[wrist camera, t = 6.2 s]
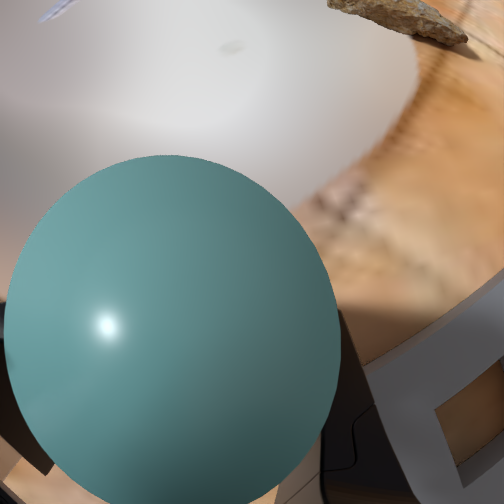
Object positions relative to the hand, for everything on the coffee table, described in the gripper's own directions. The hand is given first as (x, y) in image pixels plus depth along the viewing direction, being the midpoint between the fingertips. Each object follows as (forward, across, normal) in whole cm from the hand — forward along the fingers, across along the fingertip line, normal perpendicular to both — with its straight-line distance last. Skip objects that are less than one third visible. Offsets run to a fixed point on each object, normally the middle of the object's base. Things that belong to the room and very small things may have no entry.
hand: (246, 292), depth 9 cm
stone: (+26, -4, -13) cm, 29 cm away
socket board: (+3, -15, +9) cm, 18 cm away
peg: (+4, 0, +6) cm, 7 cm away
